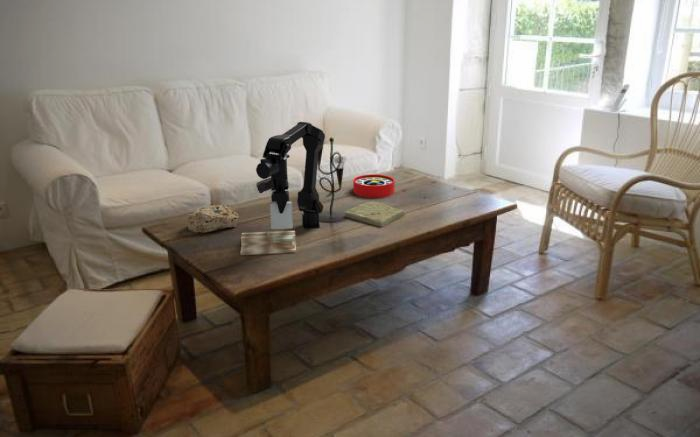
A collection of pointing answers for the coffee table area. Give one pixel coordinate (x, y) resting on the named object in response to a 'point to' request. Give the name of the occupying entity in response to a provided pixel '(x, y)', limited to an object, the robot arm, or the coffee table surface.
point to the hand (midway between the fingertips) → (281, 212)
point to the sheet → (281, 216)
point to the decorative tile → (375, 213)
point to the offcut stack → (282, 242)
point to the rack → (263, 243)
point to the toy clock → (373, 186)
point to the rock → (212, 218)
